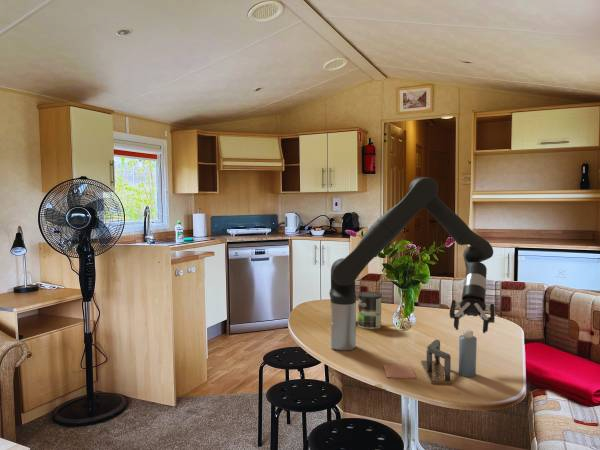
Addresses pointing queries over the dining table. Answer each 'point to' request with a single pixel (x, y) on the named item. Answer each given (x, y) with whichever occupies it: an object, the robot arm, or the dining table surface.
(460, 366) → the bottle
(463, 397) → the dining table surface
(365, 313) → the coffee can
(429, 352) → the dark grey frame
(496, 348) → the dining table surface
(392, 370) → the mat
